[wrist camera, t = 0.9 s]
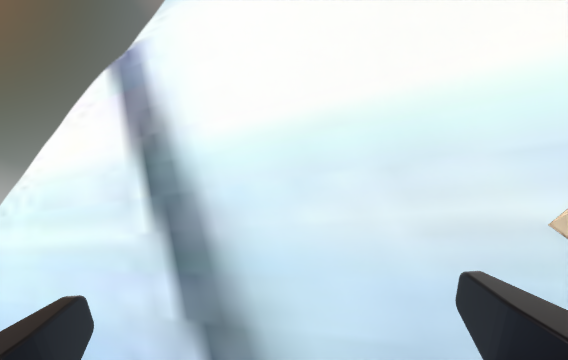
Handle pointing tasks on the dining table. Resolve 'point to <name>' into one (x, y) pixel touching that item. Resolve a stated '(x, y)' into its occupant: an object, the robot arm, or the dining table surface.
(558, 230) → the carton
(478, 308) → the robot arm
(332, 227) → the dining table surface
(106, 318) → the dining table surface
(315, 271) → the dining table surface
